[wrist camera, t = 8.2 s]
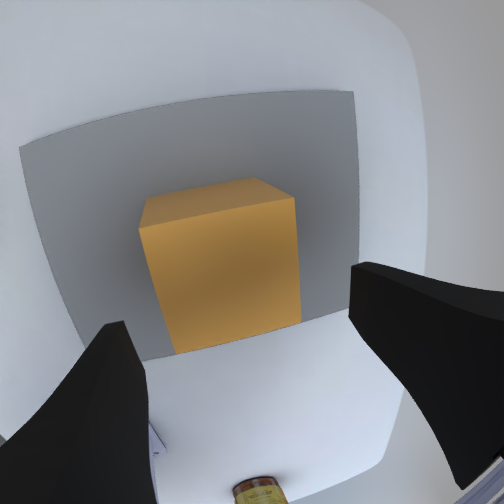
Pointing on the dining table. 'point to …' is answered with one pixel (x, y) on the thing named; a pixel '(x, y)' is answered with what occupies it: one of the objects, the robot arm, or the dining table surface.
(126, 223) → the post board
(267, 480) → the sauce bottle
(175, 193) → the orange cube
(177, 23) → the dining table surface
